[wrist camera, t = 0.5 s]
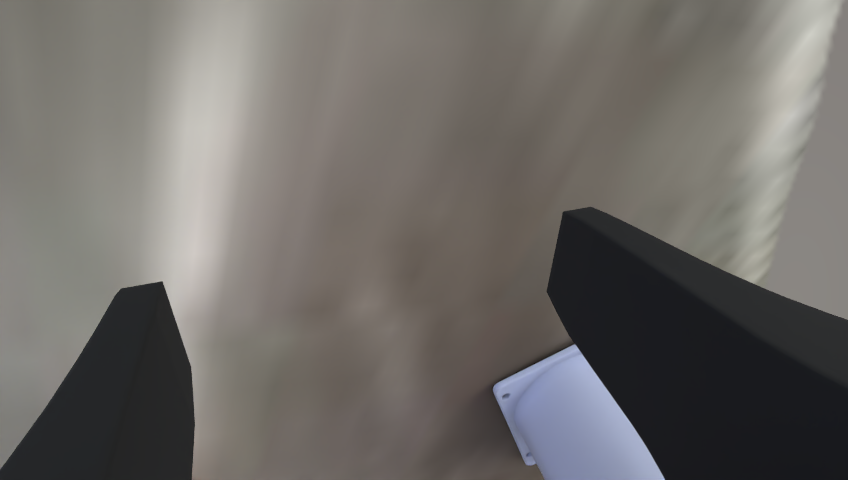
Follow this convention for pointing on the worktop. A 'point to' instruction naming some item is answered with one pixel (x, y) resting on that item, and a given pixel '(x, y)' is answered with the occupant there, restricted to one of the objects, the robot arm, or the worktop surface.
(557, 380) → the robot arm
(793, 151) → the worktop surface
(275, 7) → the worktop surface
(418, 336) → the worktop surface
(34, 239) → the worktop surface
